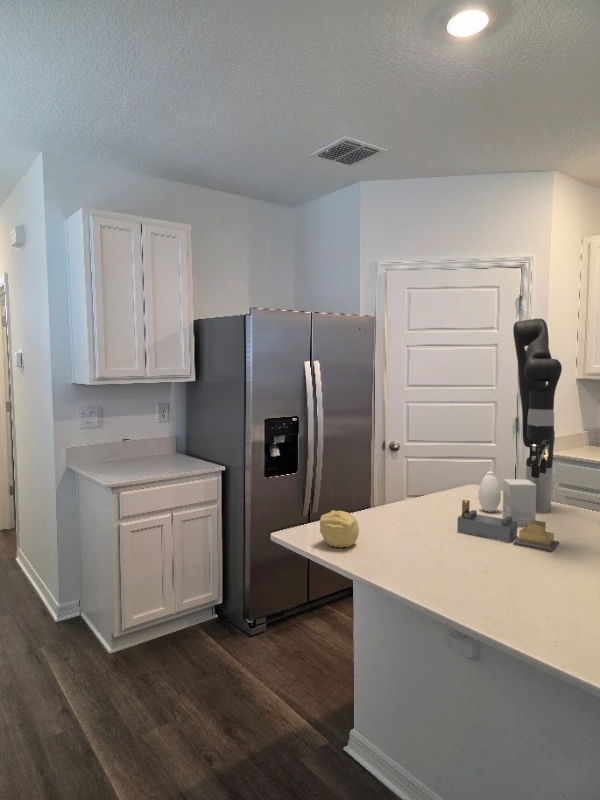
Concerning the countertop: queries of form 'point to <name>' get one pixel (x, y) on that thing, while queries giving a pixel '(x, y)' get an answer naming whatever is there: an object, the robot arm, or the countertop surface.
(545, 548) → the rubber mat
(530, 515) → the supplement box
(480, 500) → the white ovoid vessel
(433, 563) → the countertop surface
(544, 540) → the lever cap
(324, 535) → the pale yellow lumpy ball
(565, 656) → the countertop surface
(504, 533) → the grey block holder tray
